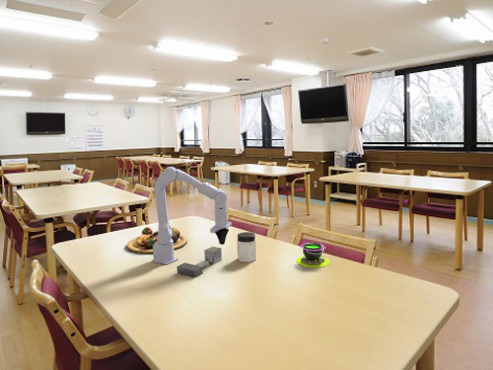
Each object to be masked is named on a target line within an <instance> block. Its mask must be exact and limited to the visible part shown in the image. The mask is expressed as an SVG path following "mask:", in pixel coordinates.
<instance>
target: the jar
mask: <svg viewBox="0 0 493 370" xmlns="http://www.w3.org/2000/svg"><path fill="white" fill-rule="evenodd" d="M256 243H257V242H256V234H255V233H254V232H249V231H245V232H239V233H238V234H237V239H236V244H237V246H236V248H237V249H236V251H237V260H238V261H239V262H241V263H252V262H254V261H257V244H256Z"/></svg>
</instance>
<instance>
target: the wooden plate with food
mask: <svg viewBox="0 0 493 370" xmlns="http://www.w3.org/2000/svg"><path fill="white" fill-rule="evenodd" d="M171 229H172V231H173V234H172V236H171V239H172V240H173V245H174V250H175V251H177V249H178V250H179V249H182V248H184V247H185V246H186V245H187V244H188V238H187V237H186V236H185V235H183V234H181V232H180V231H179V229H177V228H176V227H172V228H171ZM157 235H158V230H156V231H154V232H153V229H152V228H151V227H149V226H146V227H144V228H143V229H142V231H141V234H140V235H139V236H137V237H135V238H132V239H131V240H129V241H128V242H127V244H126V249H127V250H128V251H129V252H130V251H131V253H133V252H134V253H135V254H138V253H140V254H139V255H153V245H154V243H155V242H157V241H158V240H157ZM134 253H133V254H134Z"/></svg>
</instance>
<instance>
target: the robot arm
mask: <svg viewBox="0 0 493 370" xmlns="http://www.w3.org/2000/svg"><path fill="white" fill-rule="evenodd" d="M174 181H176V182H184V183H187V184H189V185H191V186H192V187H195V188H196V189H198V191H199V194H202V195H203V196H205V197H207V198H208V199H210V200H213V201H214V226H212V227H211V228H210V230H209V231H210V234H211V233H212V234H215V235H216V237H217V240H218V243H219V245H222V246H223V245H225V242H226V238H227V235H228V233H229V228H230V227H232V226H233V223H232V221H228V208H227V207H228V206H227V201H228V197H227V194H226V192H225V191H223V190H222V189H220V188H217V187H216V186H214V185H212V183H211V182H207V181H205V182H204V181H203V182H201V181H200V180H198V179H197V178H195V177H193V176H192V175H190V174H188V173H187V172H185V171H183V170H181V169H178V168H176V167H174V166H168V167H166V168H165V169H164V170H163V171H161V173H160V174H159V176H158V178H157V179H156V181H155V183H154V186H153V188H154V194H155V195H154V196H155V205H156V215H157V221H158V227H157V231H158V235H157V240H158V241H157V242H155V243H154V245H153V254H152V255H153V257H152V258H153V259H152V260H151V261H152V262H155V263H159V264H163V265H169V264H171V263H173V262H176V261H178V260H179V258H178V257H175V251H174V245H173V240H172V239H171V236H172V234H173V231H172V228H171V224H170V220H169V219H170V218H169V209H168V204H167V202H168V201H167V193H166V188H167V187H168V185H170V184H171V183H173V182H174Z"/></svg>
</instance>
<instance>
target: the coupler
mask: <svg viewBox="0 0 493 370" xmlns="http://www.w3.org/2000/svg"><path fill="white" fill-rule="evenodd" d="M208 266H209V262H208V261H205V259H204V260H201V261H200V262H198V263H196V264H193V263H188V262H183V263H181V264H178V265H177V266H176V273H177V274H179V275H183V276H187V277H190V278H191V277H192V278H197V277H200V276H201V275H203V274H204V270H203V269H204V268H206V267H208Z"/></svg>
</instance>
